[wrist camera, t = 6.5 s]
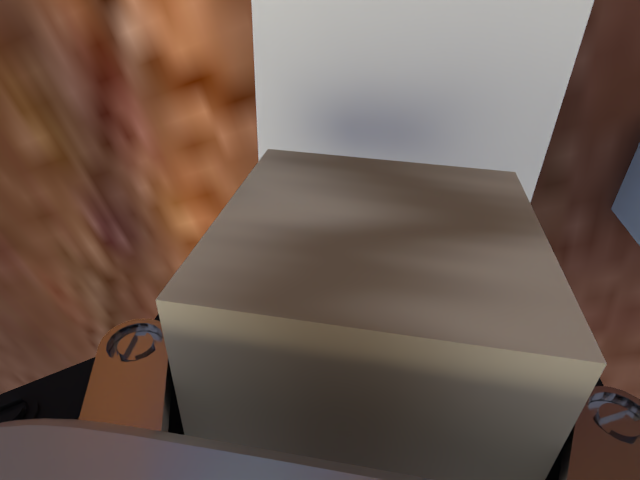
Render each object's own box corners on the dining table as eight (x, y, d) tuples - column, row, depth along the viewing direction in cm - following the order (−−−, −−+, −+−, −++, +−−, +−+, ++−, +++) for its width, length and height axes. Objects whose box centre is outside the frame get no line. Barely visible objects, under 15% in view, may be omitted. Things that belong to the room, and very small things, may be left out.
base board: (590, -29, 18) (604, -28, 17) (504, 254, 26) (509, 270, 25) (259, -42, 20) (248, -42, 19) (269, 226, 28) (261, 239, 27)
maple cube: (515, 172, 11) (606, 364, 6) (464, 352, 14) (492, 576, 9) (268, 148, 11) (155, 299, 6) (273, 324, 15) (202, 517, 10)
